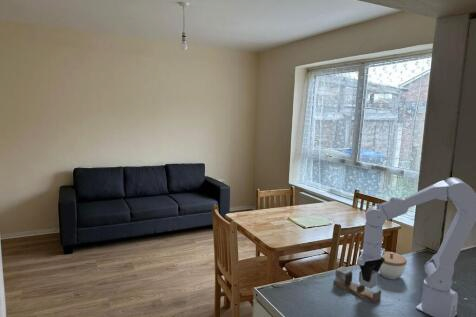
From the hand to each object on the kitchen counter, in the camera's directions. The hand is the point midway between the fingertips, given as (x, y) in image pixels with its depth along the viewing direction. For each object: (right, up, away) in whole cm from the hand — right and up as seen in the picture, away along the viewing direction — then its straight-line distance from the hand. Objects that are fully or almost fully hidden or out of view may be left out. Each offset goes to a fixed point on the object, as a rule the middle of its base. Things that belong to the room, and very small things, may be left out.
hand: (369, 278), depth 111 cm
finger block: (0, -2, +1) cm, 2 cm away
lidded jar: (+15, -5, +16) cm, 22 cm away
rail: (-3, -6, +5) cm, 8 cm away
